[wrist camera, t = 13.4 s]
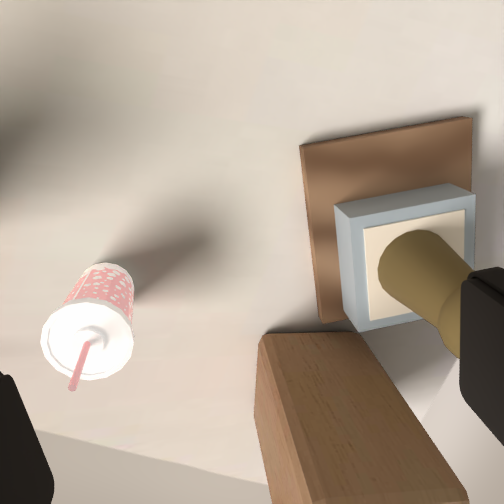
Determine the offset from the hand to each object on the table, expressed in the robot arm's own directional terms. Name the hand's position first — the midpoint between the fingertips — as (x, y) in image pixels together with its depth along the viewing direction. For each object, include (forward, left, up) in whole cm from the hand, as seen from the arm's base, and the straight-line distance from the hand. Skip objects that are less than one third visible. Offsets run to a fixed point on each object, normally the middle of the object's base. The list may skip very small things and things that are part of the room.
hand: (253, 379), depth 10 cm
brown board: (+9, +15, -30) cm, 35 cm away
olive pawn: (+11, +15, -25) cm, 31 cm away
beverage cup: (+10, -10, -31) cm, 34 cm away
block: (+23, +6, -31) cm, 39 cm away
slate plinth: (+11, +15, -29) cm, 34 cm away
